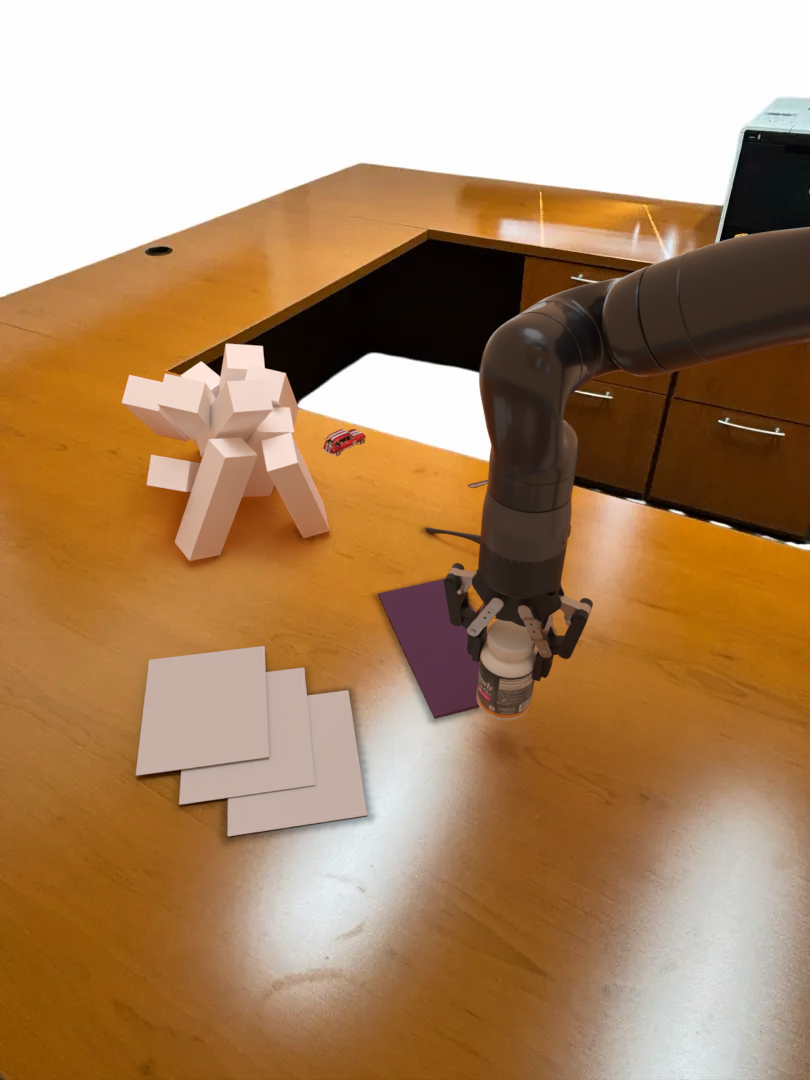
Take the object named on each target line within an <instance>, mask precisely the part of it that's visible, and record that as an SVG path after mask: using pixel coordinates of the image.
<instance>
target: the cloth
mask: <svg viewBox="0 0 810 1080" xmlns="http://www.w3.org/2000/svg"><path fill="white" fill-rule="evenodd" d="M444 579H445V578H442V579H437V580H433V581H428V582H423V583H419V584H415V585H409V586H405V587H401V588H396V589H391V590H387V591H382V592H379V593H377V596H378V599H379V600H380V603H381V606H382V607H383V610H384V612H385V614H386V616H387V618H388V620H389V623H390V624H391V627H392V630H393V631H394V633H395V635H396V638H397V640H398V642H399V644H400V647H401V649H402V651H403V653H404V656H405V658H406V660H407V662H408V665H409V666H410V668H411V671H412V674H413V675H414V678H415V680H416V682H417V684H418V687H419V689H420V690H421V693H422V695H423V697H424V699H425V701H426V704H427V706H428V709H429V710H430V713H431V715H432V717H433V719H439V718H442V717H446V716H450V715H453V714H457V713H462V712H464V711H465V712H466V711H469V710H472V709H476V708H480V706H479V704H478V702H477V685H478V675H479V664H480V662H479V663H478V662H475V661H472V655H469V654H468V651H467V644H468V632H467V629H466V628H465V627H463V626H454V625H452V624H451V622H450V618H449V611H448V605H447V599H446V593H445V587H444ZM469 604H470V609H471V610H473V611H475V610H474V608H473V607H472V605H471V603H470V602H469ZM487 635H488V633H487ZM487 635H486V641H487Z"/></svg>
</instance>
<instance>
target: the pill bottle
mask: <svg viewBox="0 0 810 1080" xmlns="http://www.w3.org/2000/svg"><path fill="white" fill-rule="evenodd" d="M487 634H488V635H487V641H486V642H485V643H484V645H483V647H482V649H481V654H480V664H479V675H478V685H477V702H478V704H479V706H480V707H479V708H480V709H481V711H482V712H483V713H484V714H486V715H487V716H489V717H490V718H493V719H495V720H499V721H513V720H516V719H519V718H521V717H522V716H524V715H525V714H526V713H527V712H528V711H529V709H530V707H531V704H532V698H533V694H534V693H533V692H534V687H535V681H536V680H533V672H534V665H535V659H536V654H537V652H538V650H537V647H536V644H535V642H534V641H532V640H531V639H530V636H529V634H528V631H527V629H526V627H523V626H519V625H517V624H515V623H513V622H511V621H502V620H499V619H496V620H495V621H494V622H492V623H491V624H490V626H489V628H488V629H487Z"/></svg>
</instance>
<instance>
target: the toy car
mask: <svg viewBox="0 0 810 1080" xmlns="http://www.w3.org/2000/svg"><path fill="white" fill-rule="evenodd" d="M323 440H325V441H324V444H323V448H322V450H323V452H325V453H327V454H328V455H330V456H334V455H335V456H336V457H339V456H341V455H342V453H343V452H345V451H346V450H347V449H348V450H349V449H350V448H352V447H355V446H357V445H359V446H361V445H363V444H366V441H367V437H366V434H365V433H363V432H362V431H360V430H358V429H356V428H352V429H349V430H346V429H343V428H340V429H339V430H336V431H333V432H332V433H330V434H328V435H327V436H326V438H325V437H324V438H323Z"/></svg>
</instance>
